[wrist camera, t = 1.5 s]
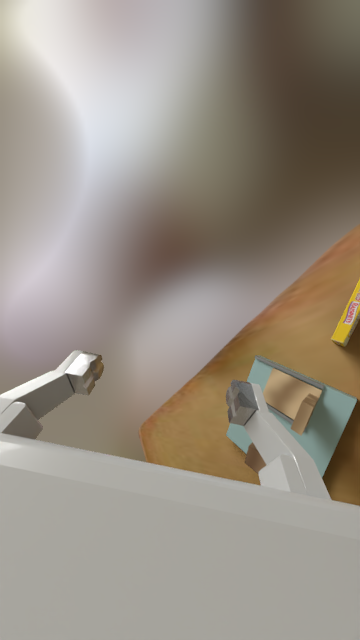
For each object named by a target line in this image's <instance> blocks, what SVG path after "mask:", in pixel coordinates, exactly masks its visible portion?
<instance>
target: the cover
mask: <svg viewBox="0 0 360 640" xmlns="http://www.w3.org/2000/svg"><path fill="white" fill-rule="evenodd" d="M321 392H322V390H321V389H319V388H317V387H314V386H312V385H310V384H308V383H306V382H304V381H301V380H299V379H297V378H295V377H293V376H291V375H288V374H286V373H284V372H282V371H280V370H278V369H276V368H273V369H272V371H271V374H270V376H269V379H268V381H267V384H266V386H265V389H264V391H263V396H264V398H265V401H266V403H268V404H269V405H271V406H273V407H274V408H276V409H277V410H279V411H281V412H282V413H284V414H285V415H287V416H288V417H290V418H292V419H293V420H294V422H293V424H292V426H291V429H292V430H293V431H295V432H296V433H298V434H299V435H301V436H302V434H303V432H304V430H305V428H306V427H307V425H308V423H309V420H310V418H311V416H312V413H313V411H314V409H315V406H316V404H317V402H318V399H319V397H320V395H321Z"/></svg>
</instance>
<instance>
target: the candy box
mask: <svg viewBox="0 0 360 640" xmlns="http://www.w3.org/2000/svg"><path fill="white" fill-rule="evenodd" d="M359 319H360V279H359V281H358V283H357V286H356V288H355V290H354V292H353V294H352V296H351V298H350V300H349V303H348V305H347V307H346V309H345V311H344V313H343V315H342V317H341V319H340V322H339V324H338V326H337V328H336V330H335V332H334V334H333V336H332V339H331V340H332V341H333V342H334V343H335V344H338V345H341V346H344V347H345V346H346V345H347V343H348V341H349V339H350V337H351V335H352V333H353V331H354V329H355V327H356V325H357V323H358V321H359Z"/></svg>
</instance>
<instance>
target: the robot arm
mask: <svg viewBox="0 0 360 640" xmlns="http://www.w3.org/2000/svg"><path fill="white" fill-rule="evenodd" d="M101 360H102V356H101V355H97V354H93V353H88V352H84V351H79V350H75V351H73V352H72V353H71V354H70V355H69V356H68V358H67V359H66V360H65V361H64V362H63V363H62V364H61V365H60V366H59V367H58V368H57V369H56V370H55V371H51V372H48V373H46V374H44V375H42V376H40V377H38V378H35V379H33V380H31V381H29V382H27V383H25V384H23V385H21V386H18V387H16V388H14V389H12V390H10V391H8V392H6V393H4V394H1V395H0V640H360V506H358V505H353V504H348V503H343V502H338V501H333V500H331V498H330V495H329V493H328V491H327V489H326V486H325V484H324V482H323V480H322V478H321V475H320V473H319V471H318V469H317V466H316V464H315V462H314V460H313V459H312V458H311V456H310V455H309V454H308V453H307V452H306V451H305V450H304V449H303V447H302V446H301V445H300V444H299V443H298V442H297V441H296V440H295V438H294V437H293V436H292V435H291V434H290V433H289V432H288V431H287V429H286V428H285V427H284V426H283V425H282V424H281V423H280V422H279V420H278V419H277V418H276V417H275V416H274V415H273V414H272V413H269V410H268V407H267V404H266V401H265V398H264V396H263V393H262V390H261V387H260V385H259V384H254V383H249V382H244V381H238V380H232V382H231V387H229V388H228V390H227V393H226V402H227V405H228V406H229V407H230V408H229V409H228V418H229V423H232V424H237V425H241V426H244V428H245V430H246V432H247V433H248V435H249V437H250V438H251V440H252V442H253V443H254V445H255V447H256V448H257V450H258V452H259V453H260V455H261V457H262V458H263V460H264V462H265V463H266V466H265V467H264V468H262V469H261V470H260V471H259V472H258V473H259V478H260V483H261V486H260V485H255V484H250V483H245V482H240V481H235V480H230V479H225V478H220V477H215V476H211V475H206V474H201V473H196V472H191V471H186V470H181V469H176V468H171V467H166V466H161V465H157V464H152V463H147V462H142V461H137V460H132V459H127V458H122V457H117V456H112V455H107V454H103V453H97V452H93V451H88V450H83V449H78V448H73V447H68V446H63V445H58V444H53V443H48V442H44V441H39V440H35V439H36V438H37V436H38V435H39V433H40V432H41V431H42V429H43V426H42V425H41V423H40V422H39V421H38V420H39V419H40V418H41V417H43V416H44V415H46V414H47V413H48V412H50V411H51V410H53V409H54V408H55V407H57V406H58V405H60V404H61V403H62V402H64V401H65V400H67V399H68V398H69V397H71V396H72V395H74V393H77V394H83V395H89V394H90V393H91V391H92V389H93V388H94V386H95V381H97V380H98V379H99V378H100V377H101V375H102V373H103V369H104V366H103V363H102V362H101Z"/></svg>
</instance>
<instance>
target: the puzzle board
mask: <svg viewBox="0 0 360 640" xmlns="http://www.w3.org/2000/svg"><path fill="white" fill-rule="evenodd" d="M255 358H256V359H255V361H254V364H253V366H252V369H251V372H250V374H249V377H248V379H247V382H249V383H254V384H259V385H260V387H261V390H262V393H263V391H264V389H265V386H266V384H267V381H268V379H269V376H270V374H271V371H272V369H273V368H276V369H278V370H280V371H282V372H284V373H286V374H288V375H291V376H293V377H295V378H297V379H299V380H301V381H304V382H306V383H308V384H310V385H312V386H314V387H317V388H319V389H321V390H322V392H321V395H320V397H319V399H318V402H317V404H316V406H315V409H314V411H313V413H312V416H311V418H310V420H309V423H308V425H307V427H306V428H305V430H304V432H303V434H302V436H301V435H299V434H298V433H296V432H295V431H293V430H292V429H291V426H292V424H293V422H294V420H293V419H292V418H290V417H288V416H287V415H285V414H284V413H282V412H281V411H279V410H277V409H276V408H274V407H273V406H271V405H269V404H268V403H266V404H267V407H268V410H269V413H272V414H273V415H274V416H275V417H276V418H277V419H278V420H279V422H280V423H281V424H282V425H283V426H284V427H285V428H286V429H287V431H288V432H289V433H290V434H291V435H292V436H293V437H294V438H295V440H296V441H297V442H298V443H299V444H300V445H301V446H302V447H303V449H304V450H305V451H306V452H307V453H308V454H309V455H310V456H311V458H312V459H313V460H314V462H315V464H316V466H317V469H318V471H319V473H320V475H321V478H322V477H323V475H324V472H325V470H326V468H327V466H328V464H329V461H330V459H331V457H332V455H333V453H334V450H335V448H336V446H337V444H338V442H339V439H340V437H341V435H342V433H343V430H344V428H345V426H346V424H347V422H348V419H349V417H350V415H351V413H352V411H353V408H354V406H355V404H356V402H357V398H356V397H353V396H351V395H349V394H347V393H344V392H342V391H340V390H337V389H335V388H333V387H331V386H328V385H326V384H324V383H321V382H319V381H317V380H315V379H312V378H310V377H308V376H305V375H303V374H301V373H299V372H296V371H294V370H292V369H289V368H287V367H285V366H283V365H280V364H278V363H276V362H273V361H271V360H269V359H267V358H264V357H262V356H257V355H256V356H255ZM226 435H227V436H228V437H229V438H230V439H231V440H232V441H233V442H234V443H235V444H236V445H237V446H238V447H239V448H241V449H242V450H243V451H244V452H245V453H246V454H247V451H248V447H249V445H250V444H251V443H252V440H251V438H250V437H249V435H248V433H247V432H246V430H245V428H244V426H241V425H237V424H232V423H231V424H230V426H229V429H228V431H227V434H226Z"/></svg>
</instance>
